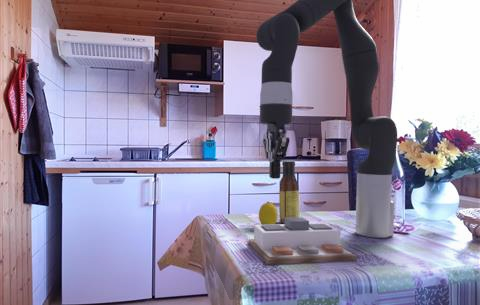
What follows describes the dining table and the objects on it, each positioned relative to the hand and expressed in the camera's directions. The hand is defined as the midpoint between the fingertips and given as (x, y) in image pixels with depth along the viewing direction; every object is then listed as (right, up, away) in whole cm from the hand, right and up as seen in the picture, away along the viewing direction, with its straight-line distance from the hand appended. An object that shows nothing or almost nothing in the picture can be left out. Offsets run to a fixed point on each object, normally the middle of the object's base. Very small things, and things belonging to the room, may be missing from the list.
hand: (274, 178), depth 81 cm
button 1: (+11, -16, +3) cm, 19 cm away
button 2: (+5, -14, +1) cm, 15 cm away
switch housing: (+5, -17, +1) cm, 18 cm away
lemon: (0, -17, +22) cm, 27 cm away
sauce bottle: (+7, -17, +30) cm, 36 cm away
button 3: (0, -15, 0) cm, 15 cm away
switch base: (+6, -17, -1) cm, 18 cm away
